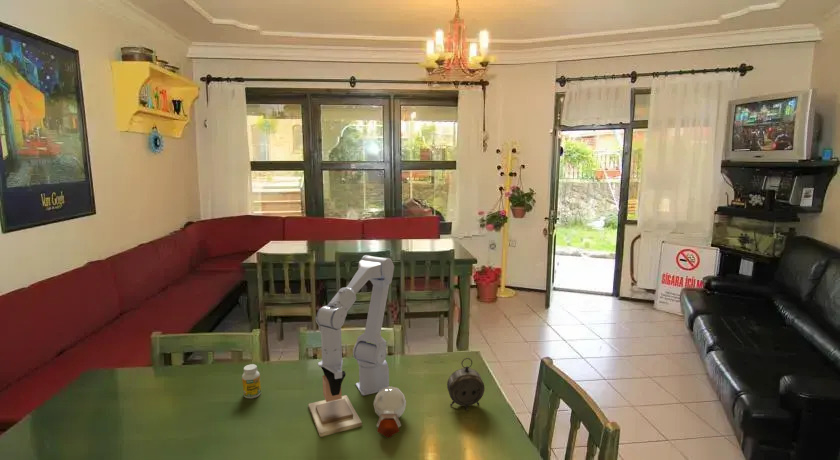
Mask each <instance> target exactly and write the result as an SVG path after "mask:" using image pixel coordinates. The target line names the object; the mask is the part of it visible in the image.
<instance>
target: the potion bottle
mask: <svg viewBox="0 0 840 460" xmlns="http://www.w3.org/2000/svg"><path fill="white" fill-rule="evenodd" d="M406 406H407V401H406V397H405V394H404V393H403V392H402V391H401V390H400V389H399V387H394V386H390V385H389V387H385V388H382V389H381V390H380V391H379V392H377V393H376V395H375V397H374V400H373V408H374V413H375V414H376V415H377V416H378V421H377V423H376V427H377V430H376V432H377V433H378V434H381V435H382V436H385V437H386V438H388V439H390V438H391V437H393V436H395V435H396V434H397V433H399V432H400V427H401V426H402V424H401V421H400V419H399V418H400V417H401V416H402V415H403V414H404V413H405V409H406Z"/></svg>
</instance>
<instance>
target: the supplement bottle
mask: <svg viewBox="0 0 840 460" xmlns="http://www.w3.org/2000/svg"><path fill="white" fill-rule="evenodd" d="M241 380H242V393H243V397H245V398H246V399H254V398H255V399H256V398H257V397H259V396H260V395H261V393H262V386H261V385H262V384H261V375H260V372H259V371H258V366H257V365H256V364H254V363H251V364H247V365H245V366H244V367H243V374H242V376H241Z"/></svg>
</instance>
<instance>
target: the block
mask: <svg viewBox="0 0 840 460" xmlns="http://www.w3.org/2000/svg"><path fill="white" fill-rule="evenodd" d="M321 378H322V390H323V391H322V394H323V398H324V400H326V402H329V401H334V400H338V399H342V396H343V394H342V388H341V389H340V393H339V395H334V396H332V394H331V391H330V385H329V382H328V379H327V378H326V376H325V375H324V374H323V375H322V377H321Z"/></svg>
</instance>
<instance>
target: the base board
mask: <svg viewBox="0 0 840 460" xmlns="http://www.w3.org/2000/svg"><path fill="white" fill-rule="evenodd" d="M308 410H309V413H310V415H311V417H312V420H313V422H314V425H315V427H316V430H317V432H318V435H319V437H322V438H323V437H325V436H329V435H333V434H336V433H337V434H338V433H341V432H344V431H348V430H353V429H355V428H359V427H360V428H361V427H363V424H362V423H363V422H362V421H361V418H360V417H359V415H358V413H357V411H356V410H355V408H354V406H353V404H352V402H351V400H350V399H349V397H348V395H346V394H345V395H342V399H338V400H334V401H329V402H326V400H325V399H323V400H319V401H314V402H310V403H308Z"/></svg>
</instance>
